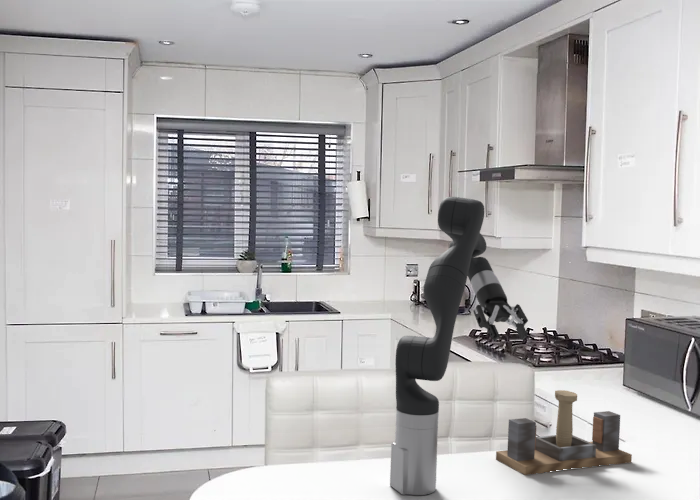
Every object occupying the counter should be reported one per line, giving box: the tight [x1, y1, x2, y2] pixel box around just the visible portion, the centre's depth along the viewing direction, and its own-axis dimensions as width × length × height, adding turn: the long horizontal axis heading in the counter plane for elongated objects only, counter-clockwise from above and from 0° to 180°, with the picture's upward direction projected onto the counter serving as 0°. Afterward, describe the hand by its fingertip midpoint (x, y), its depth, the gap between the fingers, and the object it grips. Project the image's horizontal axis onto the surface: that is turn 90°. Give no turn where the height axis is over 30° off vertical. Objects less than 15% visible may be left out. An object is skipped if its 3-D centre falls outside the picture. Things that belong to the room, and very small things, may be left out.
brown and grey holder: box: [495, 410, 633, 476], centre depth 184 cm, size 32×12×11 cm, turn 112°
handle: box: [554, 389, 578, 447], centre depth 184 cm, size 5×6×15 cm
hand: (510, 338), depth 194 cm, fingers open, 8 cm apart
